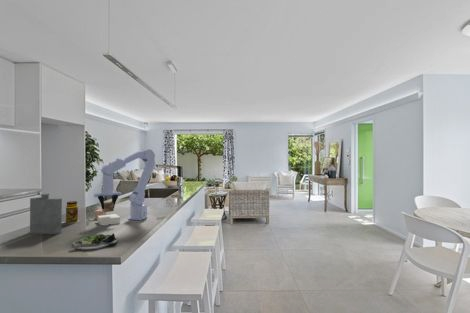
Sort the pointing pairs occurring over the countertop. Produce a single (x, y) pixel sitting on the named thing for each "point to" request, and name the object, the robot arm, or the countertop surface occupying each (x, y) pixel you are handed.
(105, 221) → the base block
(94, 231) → the countertop surface
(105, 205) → the walnut cube
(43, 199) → the hip flask
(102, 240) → the salad plate
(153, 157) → the robot arm
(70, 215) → the condiment
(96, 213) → the terracotta block
